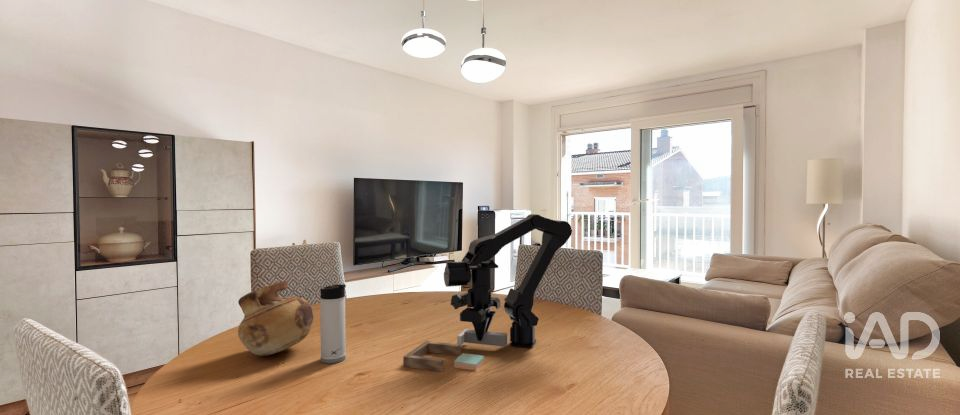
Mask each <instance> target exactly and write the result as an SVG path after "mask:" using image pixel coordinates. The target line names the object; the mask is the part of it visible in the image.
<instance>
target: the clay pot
mask: <svg viewBox="0 0 960 415" xmlns="http://www.w3.org/2000/svg"><path fill="white" fill-rule="evenodd" d="M288 285H289V284H288V282H287V281H286V280H282V281H279V282H274V283H273V284H270V285H267V286H263V287H261V288H258V289H256V290H253V291H251V292H248V293H246V294H245V295H242V296H241V297H240V298H239V299H238V302H237V303H238V305H239V307H240V308H241V310H242V313H243V315H244V316H243V319H242V320H241V322H240V323H239V324H238V329H237V336H238V338H239V340H240V342H241V344H242V345H243V347H245V348H246V349H247V350H248V351H249V352H250V353H252V354H254V355H256V356H262V357H265V356H272V355H274V354H277V353H280V352H283V351H285V350H286V349H289V348H291V347H294V346H295V345H297V344H299V343H300V342H302V341H303V340H304V339H306V337H308V335H309V333H310V332H311V331H312V327H313V323H314V312H313V311H314V310H313V308H312V306H311V304H310V303H309V302H308V301H307V300H306V299H305V298H303V297H301V296H300V297H299V296H286V297H281V296H280V295H279V293H280V292H282V291H285V290H286V289H288V288H289V286H288Z"/></svg>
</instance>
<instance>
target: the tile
mask: <svg viewBox="0 0 960 415" xmlns="http://www.w3.org/2000/svg"><path fill="white" fill-rule="evenodd" d="M484 363H485V356H484V355H481V354H480V355H479V354H472V353H464V352H463V353H461V354H460V355H459V356H458V357H456V359H455V360H454V361H453V368H455V369H464V370H468V371H469V370H470V371H478V369H479V368H480V367H481V366H482V365H483V364H484Z"/></svg>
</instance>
